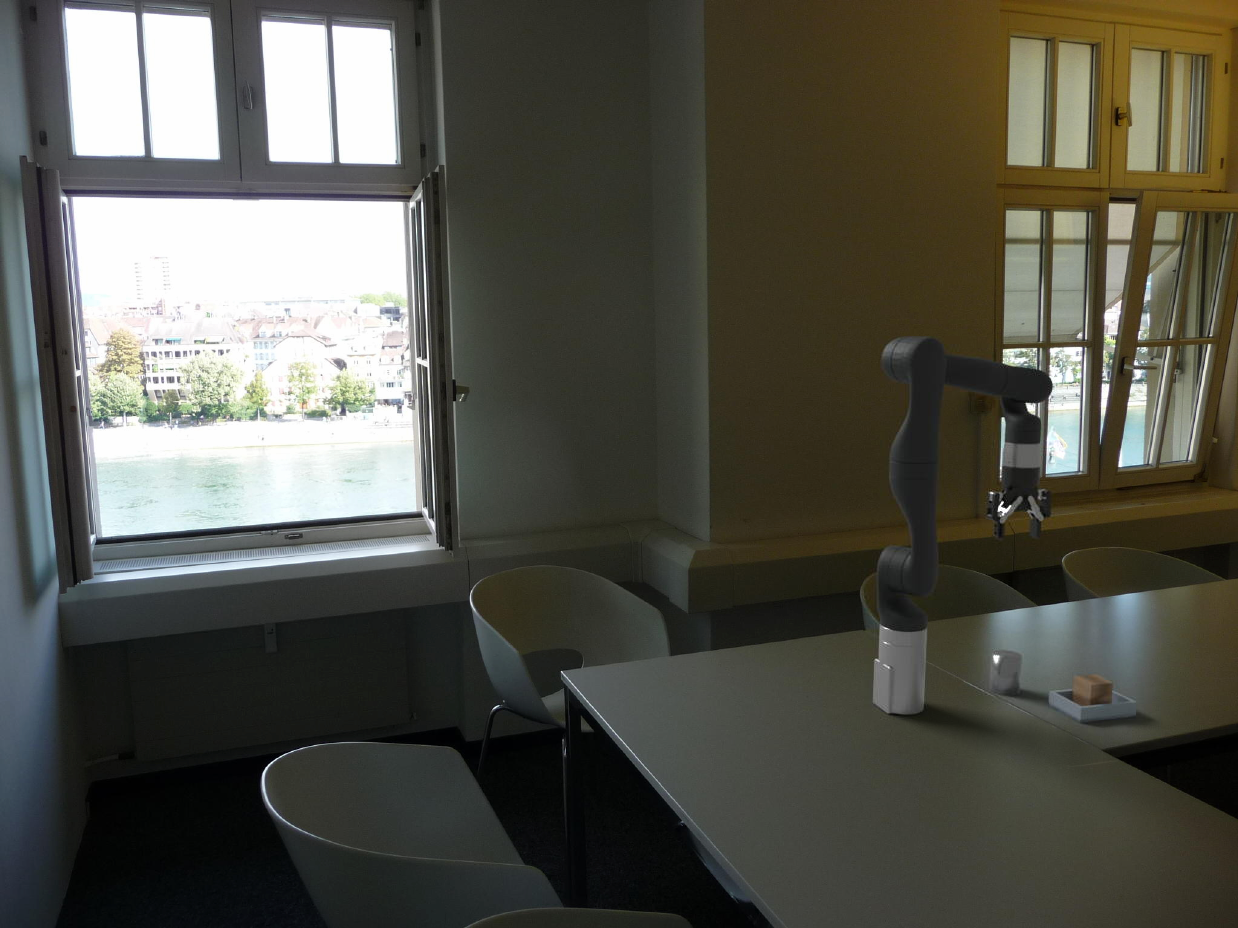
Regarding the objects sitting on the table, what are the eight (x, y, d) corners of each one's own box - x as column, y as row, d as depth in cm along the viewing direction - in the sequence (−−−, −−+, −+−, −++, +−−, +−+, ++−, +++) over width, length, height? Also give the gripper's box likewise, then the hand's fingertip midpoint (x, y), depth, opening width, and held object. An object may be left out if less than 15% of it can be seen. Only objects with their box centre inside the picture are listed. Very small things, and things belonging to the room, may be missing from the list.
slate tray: (1080, 722, 186) (1081, 708, 186) (1048, 705, 195) (1049, 691, 194) (1135, 716, 189) (1137, 701, 189) (1102, 699, 198) (1103, 685, 198)
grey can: (1001, 696, 200) (1003, 660, 198) (983, 686, 205) (985, 651, 204) (1026, 694, 201) (1028, 657, 200) (1008, 684, 207) (1009, 648, 206)
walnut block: (1089, 713, 189) (1091, 684, 188) (1072, 704, 194) (1073, 676, 193) (1110, 711, 190) (1112, 682, 189) (1093, 702, 195) (1095, 674, 194)
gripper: (1002, 467, 196) (998, 544, 198) (1062, 464, 199) (1057, 540, 202) (980, 462, 203) (977, 536, 205) (1038, 460, 207) (1034, 533, 209)
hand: (1017, 538), depth 204 cm, fingers open, 8 cm apart
